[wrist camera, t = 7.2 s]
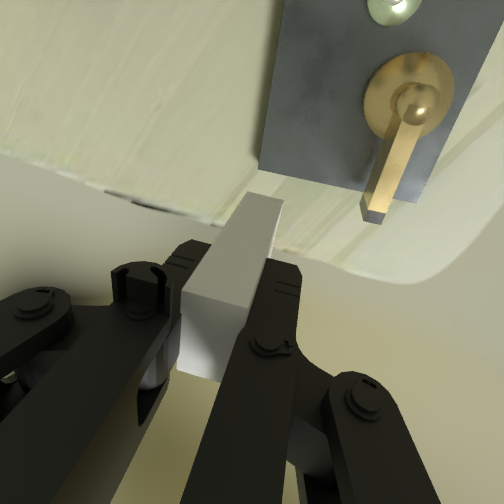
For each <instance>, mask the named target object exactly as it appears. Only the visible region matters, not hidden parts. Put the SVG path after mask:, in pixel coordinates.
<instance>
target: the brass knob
mask: <svg viewBox="0 0 504 504" xmlns="http://www.w3.org/2000/svg"><path fill="white" fill-rule="evenodd" d="M453 96H454V79H453V75H452V72H451V70H450V68H449V67H448V65H447V64H446V63H445V62H444V61H443V60H442V59H441V58H439V57H438V56H436V55H433V54H431V53H427V52H412V53H407V54H402V55H399V56H396V57H394V58H392V59H390V60H389V61H387V62H386V63H385V64H383V65H382V66H381V67H380V68H379V69H378V70H377V71H376V72H375V73H374V75H373V76H372V77H371V79H370V81H369V82H368V84H367V87H366V89H365V92H364V96H363V114H364V117H365V120H366V122H367V124H368V125H369V127H370V128H371V130H372V131H373V132H374V133H375V134H376V135H377V136H378V137H380V138H382V139H383V141H382V144H381V146H380V149H379V152H378V154H377V157H376V160H375V163H374V165H373V168H372V171H371V174H370V176H369V179H368V182H367V184H366V187H365V190H364V193H363V195H362V198H361V201H360V209H361V213H362V218H363V221H366V222H370V223H375V224H379V225H381V224H382V221H383V219H384V217H385V214H386V212H387V210H388V207H389V205H390V203H391V200H392V198H393V196H394V193H395V191H396V189H397V186H398V184H399V182H400V179H401V177H402V175H403V172H404V170H405V167H406V165H407V163H408V160H409V158H410V156H411V153H412V151H413V149H414V146H415V144H416V142H417V139H419V138H421V137H423V136H425V135H426V134H428V133H429V132H431V131H432V130H433V129H434V128H435V127H436V126H438V125H439V123H440V122H441V121H442V120H443V118H444V117H445V116H446V114H447V112H448V110H449V108H450V106H451V103H452V100H453Z"/></svg>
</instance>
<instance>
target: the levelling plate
mask: <svg viewBox="0 0 504 504" xmlns="http://www.w3.org/2000/svg"><path fill="white" fill-rule="evenodd" d="M503 21H504V0H285V2H284V8H283V15H282V21H281V27H280V33H279V40H278V46H277V52H276V58H275V64H274V71H273V77H272V83H271V89H270V96H269V102H268V108H267V114H266V121H265V127H264V133H263V139H262V146H261V152H260V158H259V164H258V169H259V170H263V171H268V172H272V173H277V174H282V175H286V176H291V177H296V178H300V179H305V180H310V181H314V182H319V183H323V184H328V185H333V186H337V187H342V188H347V189H351V190H356V191H361V192H364V190H365V187H366V184H367V182H368V179H369V176H370V174H371V171H372V168H373V165H374V163H375V160H376V157H377V154H378V152H379V149H380V146H381V144H382V141H383V139H382V138H380V137H378V136H377V135H376V134H375V133H374V132H373V131H372V130H371V128H370V127H369V125H368V124H367V122H366V120H365V117H364V114H363V96H364V92H365V89H366V87H367V84H368V82H369V81H370V79H371V77H372V76H373V75H374V73H375V72H376V71H377V70H378V69H379V68H380V67H381V66H382V65H383V64H385V63H386V62H387V61H389V60H390V59H392V58H394V57H396V56H399V55H402V54H407V53H412V52H427V53H431V54H433V55H436V56H438V57H439V58H441V59H442V60H443V61H444V62H445V63H446V64H447V65H448V67H449V68H450V70H451V72H452V75H453V79H454V96H453V100H452V103H451V106H450V108H449V110H448V112H447V114H446V116H445V117H444V118H443V120H442V121H441V122H440V123H439V125H438V126H436V127H435V128H434V129H433V130H432V131H431V132H429V133H428V134H426V135H425V136H423V137H421V138H419V139H417V142H416V144H415V146H414V149H413V151H412V153H411V156H410V158H409V160H408V163H407V165H406V167H405V170H404V172H403V175H402V177H401V179H400V182H399V184H398V186H397V189H396V191H395V193H394V196H393V199H398V200H402V201H407V202H412V203H417V201H418V199H419V197H420V195H421V193H422V191H423V189H424V187H425V185H426V182H427V180H428V178H429V176H430V174H431V172H432V170H433V168H434V166H435V164H436V161H437V159H438V157H439V155H440V153H441V151H442V149H443V147H444V145H445V143H446V141H447V138H448V136H449V134H450V132H451V130H452V128H453V126H454V124H455V122H456V120H457V117H458V115H459V113H460V111H461V109H462V107H463V105H464V103H465V101H466V99H467V96H468V94H469V92H470V90H471V88H472V86H473V84H474V82H475V80H476V78H477V76H478V73H479V71H480V69H481V67H482V65H483V63H484V61H485V59H486V57H487V55H488V52H489V50H490V48H491V46H492V44H493V42H494V40H495V38H496V36H497V34H498V31H499V29H500V27H501V25H502V23H503Z"/></svg>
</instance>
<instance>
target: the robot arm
mask: <svg viewBox="0 0 504 504" xmlns="http://www.w3.org/2000/svg"><path fill="white" fill-rule="evenodd" d="M283 202H284V200H281V199H277V198H272V197H268V196H264V195H260V194H256V193H252V192H247V193H246V194H245V196H244V197H243V199H242V200H241V202H240V203H239V205H238V206H237V208H236V209H235V211H234V212H233V214H232V215H231V217H230V218H229V220H228V221H227V223H226V224H225V226H224V227H223V229H222V230H221V232H220V233H219V235H218V236H217V238H216V239H215V241H214V242H213V244H207V243H203V242H200V241H196V240H192V239H191V240H189V241H187V242H185V243H183V244H181V245H179V246H178V247H177V248H176V250H175V251H174V252H173V253H172V255H171V256H169V258H168V259H167V260H166V261H165V264H164V263H163V265H159V264H157V263H152V262H146V261H140V262H130V263H127V264H124V265H121V266H119V267H117V268H115V269H114V270H112V271H111V279H112V289H113V299H114V301H113V302H112V303H111V305H109V306H83V305H82V306H81V305H72V303H71V298H70V295H68V294H67V293H66V292H65V291H64V290H62V289H58V288H55V287H37V288H30V289H26V290H23V291H21V292H18V293H15V294H13V295H11V296H9V297H7V298H5V299H3V300H1V301H0V504H110V502H111V500H112V498H113V496H114V494H115V492H116V490H117V488H118V486H119V484H120V482H121V480H122V478H123V476H124V474H125V472H126V470H127V468H128V466H129V464H130V462H131V460H132V458H133V456H134V454H135V452H136V450H137V448H138V446H139V444H140V442H141V440H142V438H143V436H144V434H145V433H146V431H147V428H148V427H149V424H150V422H151V420H152V419H153V417H154V414H155V412H156V411H157V409H158V407H159V405H160V403H161V400H162V399H163V396H164V394H165V393H166V391H167V388H168V384H169V378H170V371H171V369H172V367H173V365H174V363H175V362H176V360H177V370H180V371H183V372H186V373H190V374H193V375H196V376H200V377H203V378H206V379H210V380H213V381H217V382H220V383H221V385H220V387H219V390H218V393H217V396H216V399H215V402H214V405H213V408H212V411H211V414H210V417H209V419H208V422H207V425H206V428H205V431H204V434H203V437H202V440H201V443H200V446H199V449H198V452H197V455H196V457H195V460H194V463H193V466H192V469H191V472H190V475H189V478H188V481H187V483H186V487H185V489H184V492H183V495H182V498H181V501H180V504H282V495H283V485H284V476H285V467H286V466H285V465H286V460H287V461H288V462H290V463H291V464H292V465H294V466H295V470H296V477H297V485H298V493H299V500H300V504H441V503H440V500H439V498H438V496H437V494H436V492H435V489H434V487H433V485H432V482H431V480H430V478H429V476H428V473H427V471H426V469H425V467H424V465H423V462H422V460H421V458H420V456H419V453H418V451H417V449H416V447H415V444H414V442H413V440H412V438H411V435H410V433H409V431H408V429H407V426H406V424H405V422H404V420H403V417H402V415H401V413H400V411H399V408H398V406H397V404H396V403H395V401H394V399H393V398H392V396H391V395H390V393H389V392H388V391H387V390H386V389H385V388H384V387H383V386H382V385H381V384H380V383H379V382H378V381H376V380H374V379H373V378H371V377H369V376H368V375H366V374H362V373H358V372H354V371H349V372H341V373H340V374H338V375H337V376H335V377H333V376H332V375H330V374H328V373H327V372H325V371H323V370H321V369H320V368H318V367H317V366H315V365H314V364H313V363H311V362H310V361H309V360H308V359H307V358H306V357H305V356H304V355H303V354H302V352H301V351H300V349H299V348H298V344H297V342H296V327H297V319H298V310H299V302H300V293H301V284H302V274H301V272H300V270H299V268H298V266H297V265H293V264H290V263H286V262H282V261H278V260H274V259H270V257H271V252H272V248H273V244H274V240H275V236H276V232H277V227H278V223H279V219H280V215H281V211H282V207H283ZM12 371H14V372H15V374H13V375H11V376H9V377H7V378H3V377H5V376H6V375H8V374H9V373H11V372H12Z"/></svg>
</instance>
